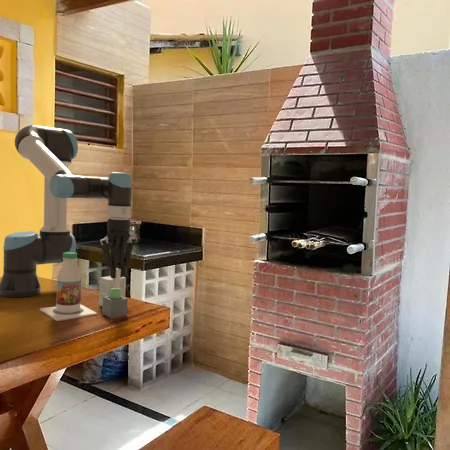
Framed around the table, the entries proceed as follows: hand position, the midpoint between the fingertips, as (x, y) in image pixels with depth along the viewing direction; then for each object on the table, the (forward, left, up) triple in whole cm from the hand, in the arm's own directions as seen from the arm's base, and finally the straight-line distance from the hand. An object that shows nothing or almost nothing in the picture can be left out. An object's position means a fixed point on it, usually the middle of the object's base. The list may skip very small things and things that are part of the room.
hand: (116, 287), depth 157 cm
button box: (0, 0, -10) cm, 10 cm away
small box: (-11, +5, -10) cm, 16 cm away
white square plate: (-10, -12, -10) cm, 18 cm away
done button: (0, 0, -6) cm, 6 cm away
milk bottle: (-10, -12, -9) cm, 18 cm away
